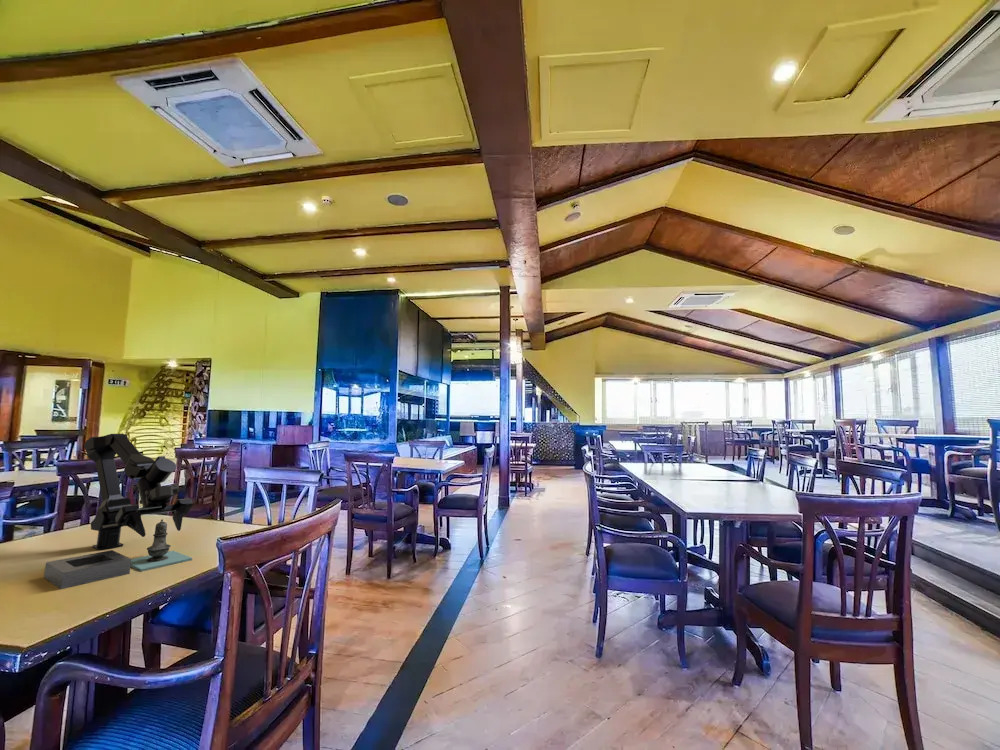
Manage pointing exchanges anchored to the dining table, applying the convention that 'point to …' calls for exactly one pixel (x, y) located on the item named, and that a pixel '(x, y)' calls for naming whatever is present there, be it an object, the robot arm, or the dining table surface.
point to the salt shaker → (159, 543)
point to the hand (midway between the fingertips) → (162, 532)
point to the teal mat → (172, 556)
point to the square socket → (86, 568)
